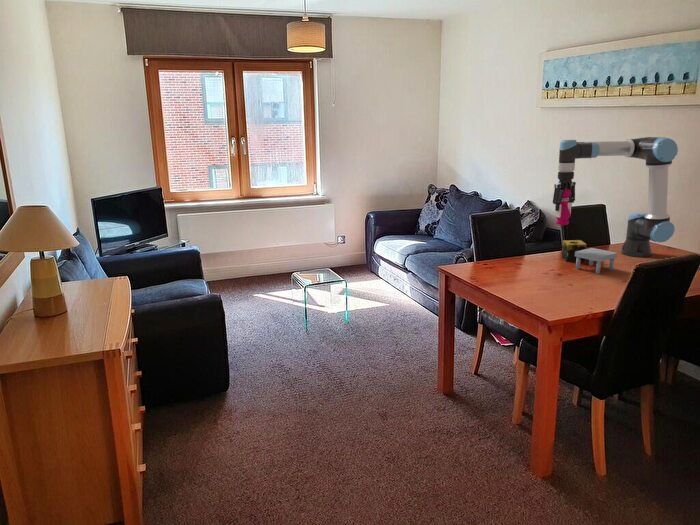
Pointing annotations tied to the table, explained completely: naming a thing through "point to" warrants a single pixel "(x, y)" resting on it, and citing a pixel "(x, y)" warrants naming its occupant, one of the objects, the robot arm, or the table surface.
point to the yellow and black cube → (572, 250)
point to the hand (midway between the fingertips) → (562, 216)
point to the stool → (595, 257)
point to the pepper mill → (564, 209)
